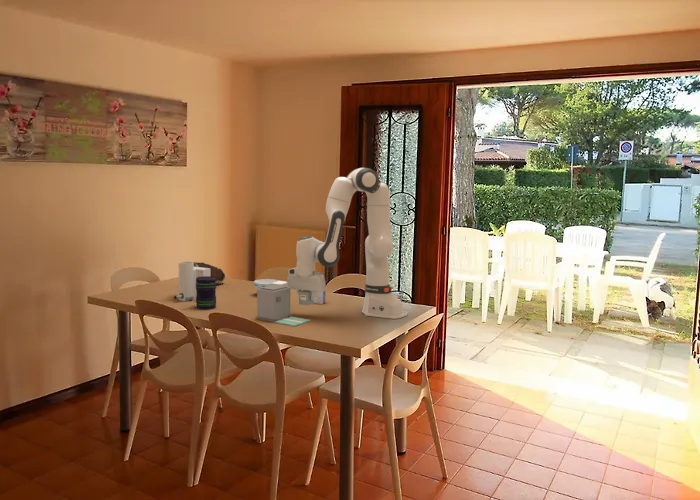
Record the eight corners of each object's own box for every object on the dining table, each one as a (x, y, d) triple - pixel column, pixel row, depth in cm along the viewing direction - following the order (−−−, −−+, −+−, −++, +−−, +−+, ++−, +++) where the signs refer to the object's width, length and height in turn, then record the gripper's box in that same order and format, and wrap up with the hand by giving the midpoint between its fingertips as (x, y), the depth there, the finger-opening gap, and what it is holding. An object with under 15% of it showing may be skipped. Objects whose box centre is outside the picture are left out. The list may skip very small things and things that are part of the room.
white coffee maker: (211, 298, 319) (210, 261, 317) (187, 304, 302) (187, 265, 300) (186, 295, 326) (186, 258, 323) (162, 301, 309) (162, 263, 307)
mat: (310, 321, 274) (310, 319, 274) (294, 326, 264) (294, 325, 264) (291, 317, 280) (291, 316, 280) (275, 322, 270) (275, 321, 270)
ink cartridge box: (325, 302, 316) (326, 275, 314) (323, 304, 311) (323, 276, 309) (307, 301, 318) (308, 274, 316) (304, 303, 313) (305, 275, 311)
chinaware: (248, 294, 331) (248, 280, 330) (271, 291, 341) (271, 278, 340) (263, 299, 320) (263, 285, 319) (286, 295, 330) (286, 282, 329)
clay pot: (233, 264, 359) (200, 261, 339) (232, 290, 358) (198, 288, 338) (216, 265, 368) (183, 261, 348) (215, 290, 367) (182, 288, 347)
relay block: (313, 303, 285) (313, 290, 284) (307, 305, 280) (307, 292, 280) (305, 302, 288) (305, 289, 287) (298, 304, 283) (298, 291, 282)
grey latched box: (291, 316, 282) (292, 286, 280) (274, 322, 271) (274, 290, 269) (273, 313, 288) (273, 283, 286) (255, 318, 277) (255, 287, 275)
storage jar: (220, 307, 298) (220, 277, 297) (205, 310, 290) (205, 280, 289) (206, 304, 304) (206, 275, 302) (191, 307, 296) (191, 278, 294)
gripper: (327, 271, 279) (328, 300, 281) (293, 268, 290) (293, 296, 292) (320, 273, 274) (320, 303, 276) (284, 269, 285) (285, 298, 287)
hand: (306, 299), depth 284 cm, fingers closed on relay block, 5 cm apart
